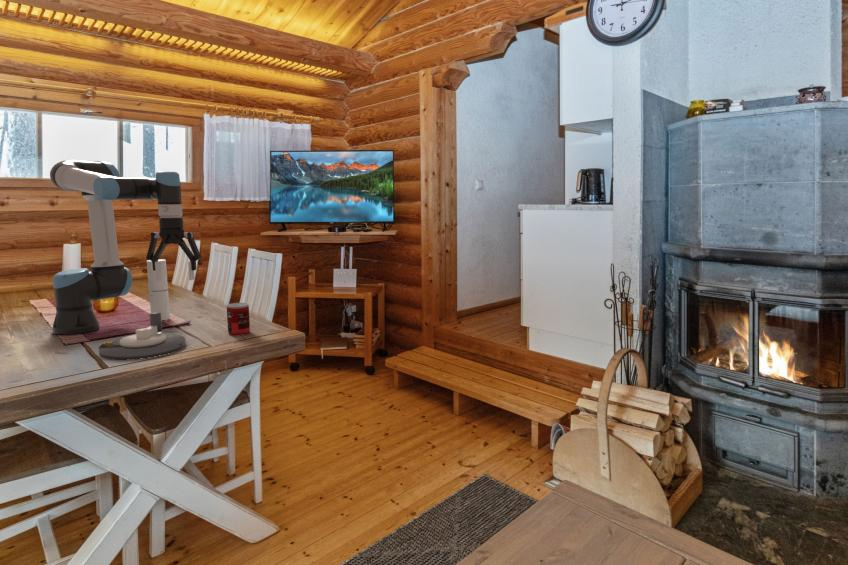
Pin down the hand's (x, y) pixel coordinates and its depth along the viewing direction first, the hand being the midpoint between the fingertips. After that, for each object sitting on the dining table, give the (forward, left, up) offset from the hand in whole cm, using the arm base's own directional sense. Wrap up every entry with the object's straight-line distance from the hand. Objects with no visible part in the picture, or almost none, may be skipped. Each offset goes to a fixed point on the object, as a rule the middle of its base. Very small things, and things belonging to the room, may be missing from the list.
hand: (175, 279), depth 188 cm
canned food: (+18, +10, -22) cm, 30 cm away
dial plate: (-8, -10, -22) cm, 26 cm away
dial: (-8, -8, -20) cm, 23 cm away
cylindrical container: (-22, +34, -22) cm, 46 cm away
